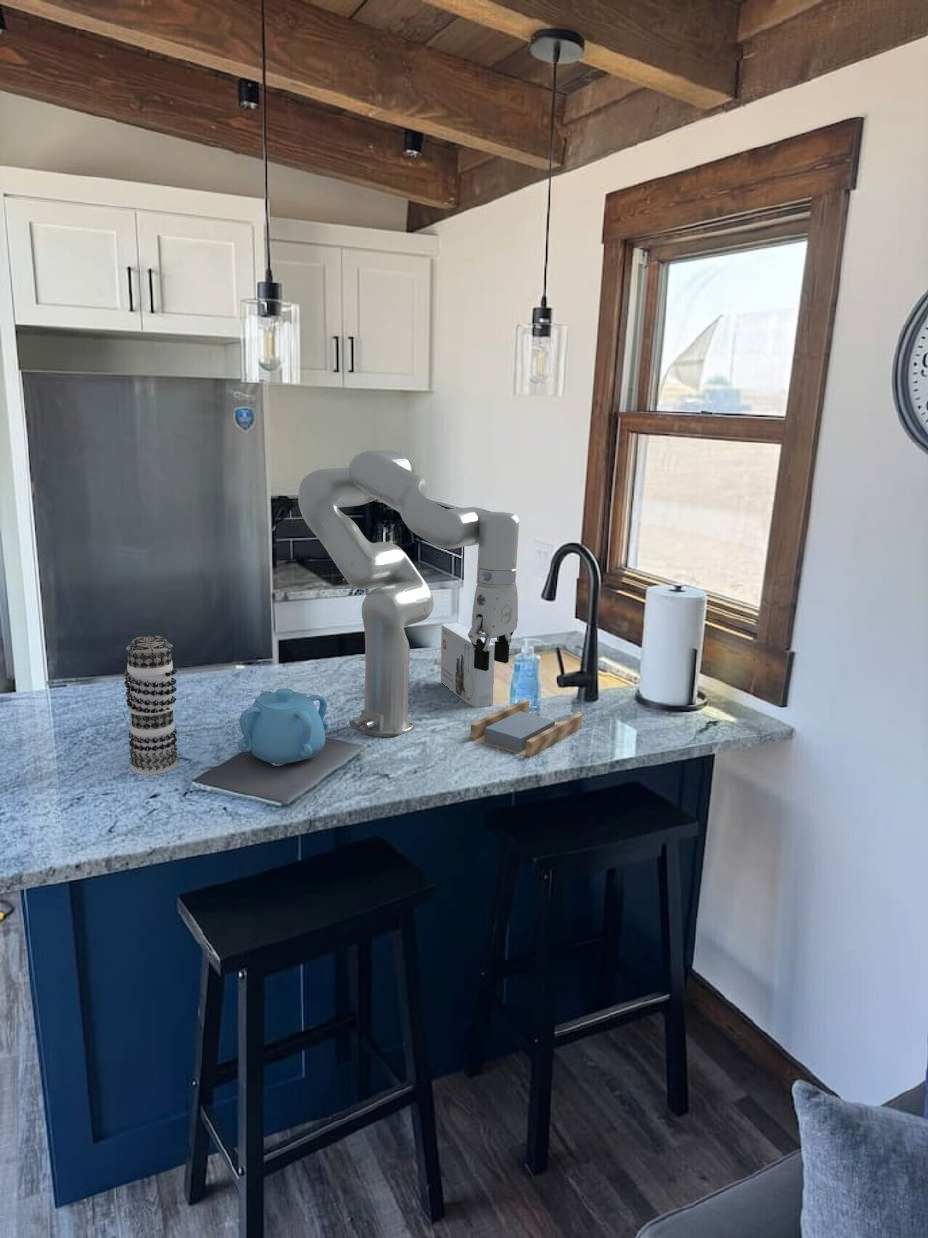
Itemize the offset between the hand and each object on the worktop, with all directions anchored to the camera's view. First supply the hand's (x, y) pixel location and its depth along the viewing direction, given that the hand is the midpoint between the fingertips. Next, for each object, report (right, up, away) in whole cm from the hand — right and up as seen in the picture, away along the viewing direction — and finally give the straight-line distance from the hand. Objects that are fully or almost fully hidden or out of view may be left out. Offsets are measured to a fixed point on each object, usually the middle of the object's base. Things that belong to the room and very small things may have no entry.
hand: (491, 664), depth 167 cm
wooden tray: (+8, -16, +17) cm, 25 cm away
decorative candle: (-64, -19, -7) cm, 67 cm away
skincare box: (-5, -10, +42) cm, 44 cm away
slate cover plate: (+7, -16, +15) cm, 23 cm away
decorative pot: (-41, -18, +1) cm, 45 cm away
